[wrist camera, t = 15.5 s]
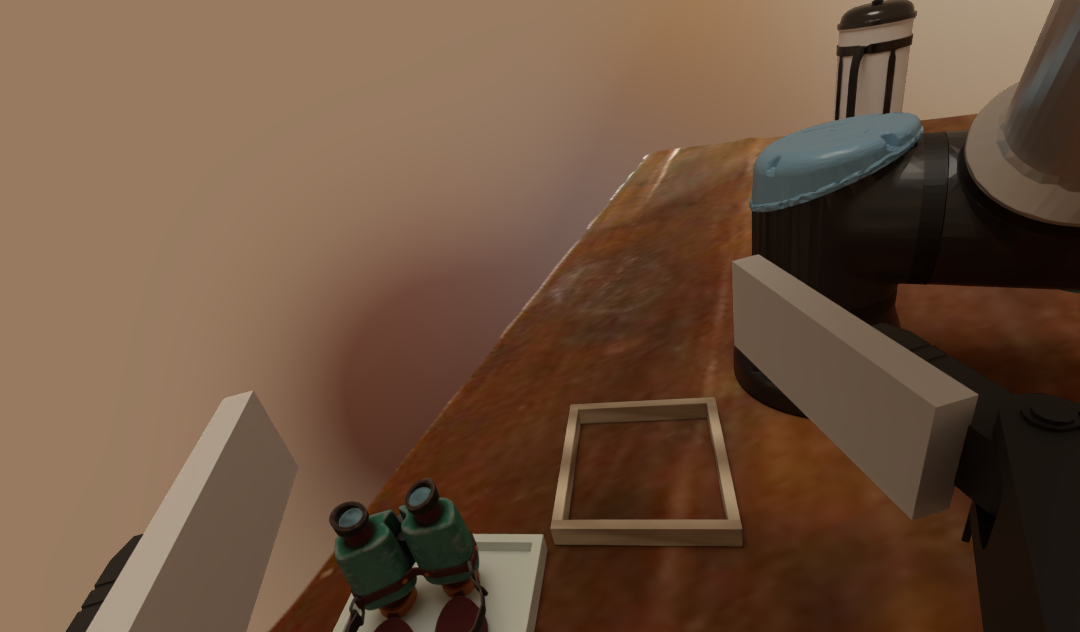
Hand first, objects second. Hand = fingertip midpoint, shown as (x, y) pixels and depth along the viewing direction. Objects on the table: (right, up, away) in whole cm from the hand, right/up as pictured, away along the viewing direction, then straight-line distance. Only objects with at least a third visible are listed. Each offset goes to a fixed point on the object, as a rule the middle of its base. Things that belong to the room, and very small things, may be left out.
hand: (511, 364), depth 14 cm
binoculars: (-6, -20, +21) cm, 29 cm away
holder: (+10, -12, +31) cm, 34 cm away
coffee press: (+69, +36, +96) cm, 124 cm away
